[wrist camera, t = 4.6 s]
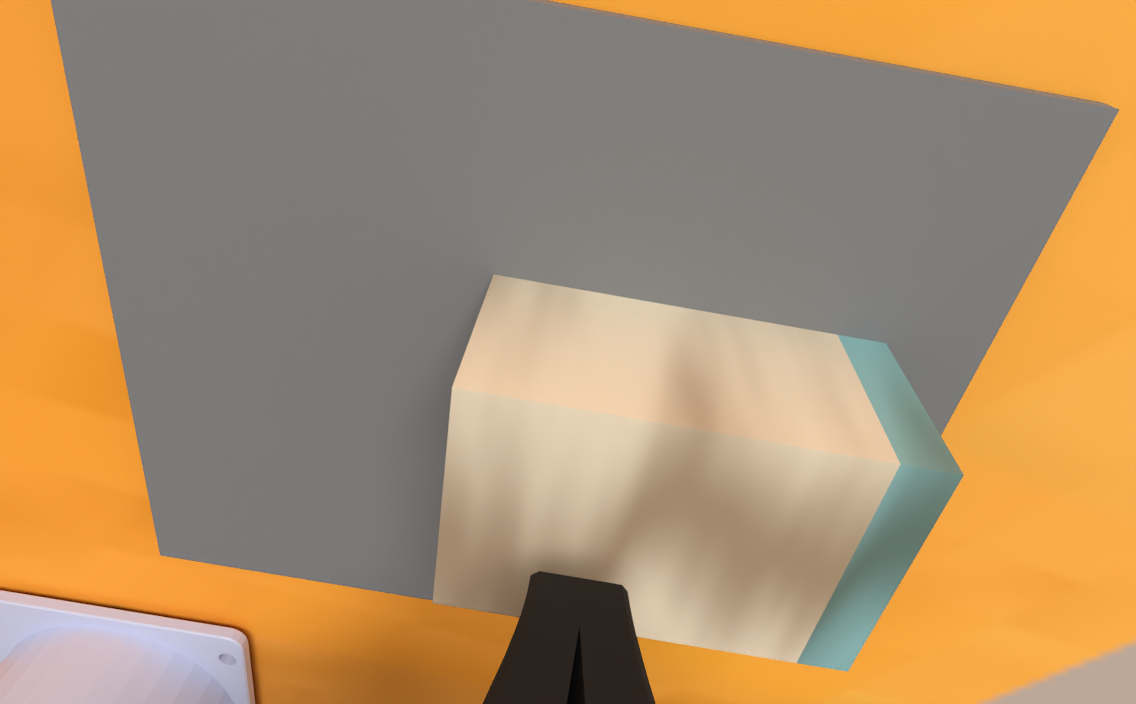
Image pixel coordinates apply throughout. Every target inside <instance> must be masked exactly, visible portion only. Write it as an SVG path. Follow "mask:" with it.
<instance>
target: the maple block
mask: <svg viewBox="0 0 1136 704" xmlns="http://www.w3.org/2000/svg"><path fill="white" fill-rule="evenodd" d="M962 477H963V473H962V471H961V470H960V468H959V466H958V465H957V463H956V461H955V459H954V458H953V456H952V454H951V453H950V451H949V449H948V448H947V446H946V444H945V443H944V441H943V439H942V437H941V436H940V434H939V432H938V431H937V429H936V427H935V426H934V424H933V422H932V420H931V419H930V417H929V415H928V414H927V412H926V410H925V409H924V407H923V405H922V403H921V402H920V400H919V398H918V397H917V395H916V393H915V392H914V390H913V388H912V386H911V385H910V383H909V381H908V380H907V378H906V376H905V375H904V373H903V371H902V369H901V368H900V366H899V364H898V363H897V361H896V359H895V358H894V356H893V354H892V353H891V351H890V349H889V347H888V346H887V344H886V343H882V342H876V341H871V340H865V339H859V338H854V337H848V336H842V335H836V334H831V333H825V332H819V331H814V330H808V329H802V328H797V327H791V326H785V325H779V324H774V323H768V322H762V321H757V320H751V319H745V318H740V317H734V316H728V315H722V314H717V313H711V312H705V311H700V310H694V309H688V308H683V307H677V306H671V305H665V304H660V303H654V302H648V301H643V300H637V299H631V298H626V297H620V296H614V295H608V294H603V293H597V292H591V291H586V290H580V289H574V288H569V287H563V286H557V285H551V284H546V283H540V282H534V281H529V280H523V279H517V278H512V277H506V276H500V275H493V277H492V280H491V283H490V285H489V288H488V291H487V294H486V296H485V299H484V302H483V304H482V307H481V310H480V313H479V315H478V318H477V321H476V324H475V326H474V329H473V332H472V334H471V337H470V340H469V343H468V345H467V348H466V351H465V353H464V356H463V359H462V362H461V364H460V367H459V370H458V372H457V375H456V378H455V381H454V383H453V386H452V393H451V404H450V415H449V426H448V437H447V449H446V460H445V471H444V482H443V493H442V504H441V515H440V526H439V537H438V548H437V559H436V570H435V581H434V592H433V603H436V604H442V605H448V606H454V607H460V608H466V609H472V610H478V611H484V612H490V613H496V614H502V615H509V616H515V617H520V615H521V612H522V609H523V606H524V602H525V599H526V595H527V591H528V586H529V581H530V575H532V574H534V573H536V572H538V571H542V572H548V573H554V574H560V575H566V576H572V577H578V578H584V579H590V580H596V581H602V582H608V583H614V584H620V585H623V587H624V588H625V589H626V590H627V591H628V597H629V603H630V608H631V613H632V618H633V623H634V627H635V632H636V636H637V637H642V638H648V639H654V640H660V641H666V642H672V643H678V644H684V645H690V646H696V647H702V648H708V649H715V650H721V651H727V652H733V653H739V654H745V655H751V656H757V657H763V658H769V659H775V660H781V661H787V662H793V663H799V664H805V665H811V666H818V667H824V668H830V669H836V670H842V671H848V670H849V669H850V667H851V665H852V664H853V662H854V660H855V659H856V657H857V655H858V653H859V652H860V650H861V648H862V647H863V645H864V643H865V642H866V640H867V638H868V636H869V635H870V633H871V631H872V630H873V628H874V626H875V625H876V623H877V621H878V620H879V618H880V616H881V614H882V613H883V611H884V609H885V608H886V606H887V604H888V603H889V601H890V599H891V597H892V596H893V594H894V592H895V591H896V589H897V587H898V586H899V584H900V582H901V581H902V579H903V577H904V575H905V574H906V572H907V570H908V569H909V567H910V565H911V564H912V562H913V560H914V559H915V557H916V555H917V553H918V552H919V550H920V548H921V547H922V545H923V543H924V542H925V540H926V538H927V536H928V535H929V533H930V531H931V530H932V528H933V526H934V525H935V523H936V521H937V520H938V518H939V516H940V514H941V513H942V511H943V509H944V508H945V506H946V504H947V503H948V501H949V499H950V497H951V496H952V494H953V492H954V491H955V489H956V487H957V486H958V484H959V482H960V481H961V479H962Z"/></svg>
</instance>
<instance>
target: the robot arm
mask: <svg viewBox="0 0 1136 704" xmlns="http://www.w3.org/2000/svg"><path fill="white" fill-rule="evenodd" d="M0 704H255V696H254V688H253V679H252V670H251V662H250V653H249V645H248V640H247V637H246V636H245V635H244V634H243V633H242V632H241V631H239V630H237V629H234V628H230V627H224V626H218V625H212V624H206V623H199V622H193V621H187V620H181V619H175V618H169V617H163V616H157V615H150V614H144V613H138V612H132V611H126V610H120V609H114V608H108V607H101V606H95V605H89V604H83V603H77V602H71V601H65V600H59V599H52V598H46V597H40V596H34V595H28V594H22V593H16V592H10V591H3V590H0ZM483 704H655V701H654V697H653V694H652V691H651V687H650V684H649V681H648V677H647V674H646V670H645V667H644V663H643V659H642V656H641V652H640V648H639V644H638V640H637V636H636V632H635V627H634V623H633V618H632V613H631V608H630V603H629V597H628V591H627V590H626V589H625V588H624V587H623V585H620V584H614V583H608V582H602V581H596V580H590V579H584V578H578V577H572V576H566V575H560V574H554V573H548V572H542V571H538V572H536V573H534V574H532V575H530V581H529V586H528V591H527V595H526V599H525V602H524V606H523V609H522V612H521V615H520V618H519V621H518V624H517V626H516V629H515V632H514V634H513V637H512V639H511V642H510V644H509V647H508V649H507V652H506V654H505V657H504V659H503V661H502V663H501V665H500V667H499V670H498V672H497V674H496V676H495V678H494V680H493V683H492V685H491V687H490V689H489V691H488V693H487V695H486V698H485V700H484V702H483Z"/></svg>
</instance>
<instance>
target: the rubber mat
mask: <svg viewBox="0 0 1136 704" xmlns="http://www.w3.org/2000/svg"><path fill="white" fill-rule="evenodd" d="M51 4H52V9H53V14H54V19H55V24H56V29H57V34H58V39H59V44H60V49H61V54H62V59H63V65H64V70H65V75H66V80H67V85H68V90H69V95H70V100H71V105H72V110H73V115H74V120H75V125H76V130H77V136H78V141H79V146H80V151H81V156H82V161H83V166H84V171H85V176H86V181H87V186H88V191H89V196H90V201H91V207H92V212H93V217H94V222H95V227H96V232H97V237H98V242H99V247H100V252H101V257H102V262H103V267H104V272H105V277H106V283H107V288H108V293H109V298H110V303H111V308H112V313H113V318H114V323H115V328H116V333H117V338H118V343H119V348H120V354H121V359H122V364H123V369H124V374H125V379H126V384H127V389H128V394H129V399H130V404H131V409H132V414H133V419H134V424H135V430H136V435H137V440H138V445H139V450H140V455H141V460H142V465H143V470H144V475H145V480H146V485H147V490H148V495H149V501H150V506H151V511H152V516H153V521H154V526H155V531H156V536H157V541H158V546H159V551H160V555H161V556H167V557H173V558H179V559H185V560H191V561H197V562H204V563H210V564H216V565H222V566H228V567H234V568H240V569H246V570H252V571H258V572H264V573H270V574H276V575H282V576H288V577H294V578H300V579H306V580H313V581H319V582H325V583H331V584H337V585H343V586H349V587H355V588H361V589H367V590H373V591H379V592H385V593H391V594H397V595H403V596H409V597H416V598H422V599H428V600H433V592H434V581H435V570H436V559H437V548H438V537H439V526H440V515H441V504H442V493H443V482H444V471H445V460H446V449H447V437H448V426H449V415H450V404H451V393H452V386H453V383H454V381H455V378H456V375H457V372H458V370H459V367H460V364H461V362H462V359H463V356H464V353H465V351H466V348H467V345H468V343H469V340H470V337H471V334H472V332H473V329H474V326H475V324H476V321H477V318H478V315H479V313H480V310H481V307H482V304H483V302H484V299H485V296H486V294H487V291H488V288H489V285H490V283H491V280H492V277H493V275H500V276H506V277H512V278H517V279H523V280H529V281H534V282H540V283H546V284H551V285H557V286H563V287H569V288H574V289H580V290H586V291H591V292H597V293H603V294H608V295H614V296H620V297H626V298H631V299H637V300H643V301H648V302H654V303H660V304H665V305H671V306H677V307H683V308H688V309H694V310H700V311H705V312H711V313H717V314H722V315H728V316H734V317H740V318H745V319H751V320H757V321H762V322H768V323H774V324H779V325H785V326H791V327H797V328H802V329H808V330H814V331H819V332H825V333H831V334H836V335H842V336H848V337H854V338H859V339H865V340H871V341H876V342H882V343H886V344H887V346H888V347H889V349H890V351H891V353H892V354H893V356H894V358H895V359H896V361H897V363H898V364H899V366H900V368H901V369H902V371H903V373H904V375H905V376H906V378H907V380H908V381H909V383H910V385H911V386H912V388H913V390H914V392H915V393H916V395H917V397H918V398H919V400H920V402H921V403H922V405H923V407H924V409H925V410H926V412H927V414H928V415H929V417H930V419H931V420H932V422H933V424H934V426H935V427H936V429H937V431H938V432H939V434H940V436H941V434H942V433H943V431H944V429H945V427H946V425H947V423H948V422H949V420H950V418H951V416H952V414H953V412H954V411H955V409H956V407H957V405H958V403H959V402H960V400H961V398H962V396H963V394H964V392H965V391H966V389H967V387H968V385H969V383H970V381H971V380H972V378H973V376H974V374H975V372H976V370H977V369H978V367H979V365H980V363H981V361H982V359H983V358H984V356H985V354H986V352H987V350H988V349H989V347H990V345H991V343H992V341H993V339H994V338H995V336H996V334H997V332H998V330H999V328H1000V327H1001V325H1002V323H1003V321H1004V319H1005V317H1006V316H1007V314H1008V312H1009V310H1010V308H1011V307H1012V305H1013V303H1014V301H1015V299H1016V297H1017V296H1018V294H1019V292H1020V290H1021V288H1022V286H1023V285H1024V283H1025V281H1026V279H1027V277H1028V275H1029V274H1030V272H1031V270H1032V268H1033V266H1034V264H1035V263H1036V261H1037V259H1038V257H1039V255H1040V254H1041V252H1042V250H1043V248H1044V246H1045V244H1046V243H1047V241H1048V239H1049V237H1050V235H1051V233H1052V232H1053V230H1054V228H1055V226H1056V224H1057V222H1058V221H1059V219H1060V217H1061V215H1062V213H1063V211H1064V210H1065V208H1066V206H1067V204H1068V202H1069V201H1070V199H1071V197H1072V195H1073V193H1074V191H1075V190H1076V188H1077V186H1078V184H1079V182H1080V180H1081V179H1082V177H1083V175H1084V173H1085V171H1086V169H1087V168H1088V166H1089V164H1090V162H1091V160H1092V158H1093V157H1094V155H1095V153H1096V151H1097V149H1098V148H1099V146H1100V144H1101V142H1102V140H1103V138H1104V137H1105V135H1106V133H1107V131H1108V129H1109V127H1110V126H1111V124H1112V122H1113V120H1114V118H1115V116H1116V115H1117V113H1118V111H1119V109H1117V108H1114V107H1112V106H1109V105H1107V104H1104V103H1101V102H1096V101H1091V100H1085V99H1080V98H1074V97H1069V96H1063V95H1058V94H1053V93H1047V92H1042V91H1036V90H1031V89H1025V88H1020V87H1015V86H1009V85H1004V84H998V83H993V82H987V81H982V80H977V79H971V78H966V77H960V76H955V75H949V74H944V73H939V72H933V71H928V70H922V69H917V68H911V67H906V66H901V65H895V64H890V63H884V62H879V61H873V60H868V59H863V58H857V57H852V56H846V55H841V54H835V53H830V52H825V51H819V50H814V49H808V48H803V47H797V46H792V45H787V44H781V43H776V42H770V41H765V40H759V39H754V38H749V37H743V36H738V35H732V34H727V33H721V32H716V31H711V30H705V29H700V28H694V27H689V26H683V25H678V24H672V23H667V22H662V21H656V20H651V19H645V18H640V17H634V16H629V15H624V14H618V13H613V12H607V11H602V10H596V9H591V8H586V7H580V6H575V5H569V4H564V3H558V2H553V1H548V0H51Z"/></svg>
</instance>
